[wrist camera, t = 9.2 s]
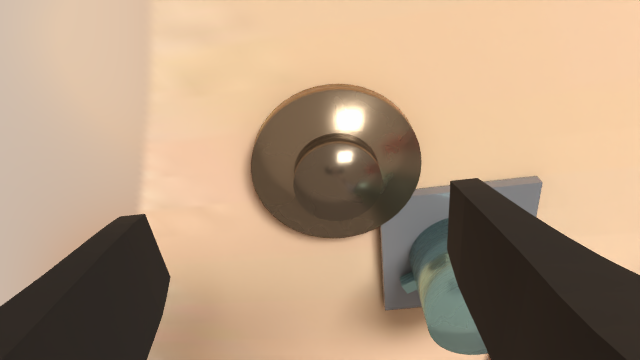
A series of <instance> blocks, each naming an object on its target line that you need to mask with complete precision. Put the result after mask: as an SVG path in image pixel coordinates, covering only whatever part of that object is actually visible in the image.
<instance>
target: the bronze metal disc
mask: <svg viewBox="0 0 640 360" xmlns="http://www.w3.org/2000/svg"><path fill="white" fill-rule="evenodd" d="M420 172H421V152H420V147H419V143H418V140H417V138H416V135H415V133H414V131H413V129H412V127H411V125H410V123H409V121H408V120H407V118H406V117H405V115H404V114H403V113H402V112H401V110H400V109H399V108H398V107H397V106H395V105H394V104H393V103H392V102H391V101H389V100H388V99H387V98H385V97H384V96H382V95H380V94H378V93H376V92H374V91H372V90H369V89H366V88H363V87H359V86H354V85H346V84H329V85H322V86H317V87H313V88H310V89H307V90H304V91H301V92H299V93H297V94H295V95H293V96H291V97H290V98H288V99H287V100H285V101H284V102H282V103H281V104H280V105H279V106H278V107H276V108H275V109H274V110H273V112H272V113H271V114H270V115H269V116H268V117H267V119H266V120H265V122H264V123H263V125H262V127H261V129H260V131H259V133H258V135H257V138H256V141H255V145H254V149H253V154H252V161H251V173H252V179H253V183H254V187H255V190H256V192H257V194H258V196H259V198H260V200H261V201H262V203H263V204H264V206H265V207H266V208H267V209H268V211H269V212H270V213H271V214H272V215H273V216H274V217H276V218H277V219H278V220H279V221H281V222H282V223H283V224H285V225H286V226H288V227H290V228H292V229H294V230H296V231H299V232H301V233H304V234H308V235H312V236H317V237H323V238H344V237H350V236H355V235H359V234H363V233H366V232H368V231H371V230H373V229H375V228H377V227H379V226H381V225H383V224H384V223H386V222H388V221H389V220H390V219H392V218H393V217H394V216H395V215H397V214H398V213H399V212H400V211H401V209H402V208H403V207H404V206H405V205H406V204H407V202H408V201H409V200H410V198H411V196H412V194H413V193H414V191H415V189H416V186H417V183H418V181H419V176H420Z"/></svg>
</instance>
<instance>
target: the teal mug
mask: <svg viewBox="0 0 640 360" xmlns="http://www.w3.org/2000/svg"><path fill="white" fill-rule="evenodd" d="M447 236H448V218H447V219H444V220H441V221H438V222H436V223H434V224H432V225H431V226H429V227H428V228H426V229H425V230H424V231H423V232H422V233H421V234H420V235H419V236H418V237H417V238H416V240H415V241H414V243H413V245H412V247H411V250H410V255H409V260H410V265H411V269H412V271H411V272H409V273H407V274H405V275H403V276H401V277H399V278H400V282H401V286H402V287H403V289H404V290H405V291H406V292H407V294H408V293H410V292H413V291H415V290H418V294H419V298H420V301H421V305H422V308H423V312H424V315H425V319H426V323H427V326H428V330H429V333H430V335H431V337H432V338H433V340H434V341H435V342H436V343H437V344H438V345H439V346H441V347H442V348H444V349H446V350H449V351H451V352H455V353H459V354H467V355H478V354H486V353H488V351H487V349H486V347H485V345H484V343H483V340H482V338H481V336H480V334H479V332H478V330H477V327H476V325H475V323H474V321H473V319H472V316H471V314H470V312H469V310H468V307H467V305H466V303H465V301H464V299H463V296H462V294H461V292H460V289H459V287H458V284H457V281H456V278H455V275H454V272H453V268H452V265H451V262H450V258H449V255H448V251H447Z"/></svg>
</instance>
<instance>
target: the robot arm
mask: <svg viewBox="0 0 640 360" xmlns="http://www.w3.org/2000/svg"><path fill="white" fill-rule="evenodd" d="M447 251H448V255H449V258H450V262H451V265H452V268H453V272H454V275H455V278H456V281H457V284H458V287H459V289H460V292H461V294H462V296H463V299H464V301H465V303H466V305H467V307H468V310H469V312H470V314H471V316H472V319H473V321H474V323H475V325H476V327H477V330H478V332H479V334H480V336H481V338H482V340H483V343H484V345H485V347H486V349H487V351H488V354H489V356H490V358H491V360H640V275H638V274H636V273H634V272H632V271H630V270H628V269H626V268H624V267H622V266H620V265H618V264H615V263H614V262H612V261H610V260H608V259H606V258H604V257H602V256H600V255H598V254H597V253H595V252H593V251H591V250H590V249H588V248H586V247H584V246H583V245H581V244H579V243H577V242H576V241H574V240H572V239H570V238H569V237H567V236H565V235H564V234H562V233H560V232H559V231H557V230H555V229H554V228H552V227H551V226H549V225H547V224H546V223H544V222H543V221H541V220H539V219H538V218H536V217H535V216H533V215H532V214H530V213H529V212H527V211H526V210H524V209H523V208H521V207H520V206H518V205H517V204H515V203H514V202H512V201H511V200H509V199H508V198H506V197H505V196H504V195H502V194H501V193H499V192H498V191H496V190H495V189H493V188H492V187H490V186H489V185H487V184H486V183H484V182H483V181H481V180H479V179H478V178H474V179H465V180H456V181H450V199H449V218H448V236H447ZM169 282H170V275H169V273H168V270H167V268H166V265H165V263H164V260H163V258H162V255H161V253H160V250H159V248H158V245H157V243H156V240H155V238H154V235H153V233H152V230H151V228H150V225H149V223H148V220H147V218H146V215H145V214H140V215H130V216H121V217H119V218H117V219H116V220H114V221H113V222H111V223H110V224H108V225H107V226H106V227H104V228H103V229H102V230H100V231H99V232H98V233H96V234H95V235H94V236H93V237H91V238H90V239H88V240H87V241H86V242H85V243H83V244H82V245H81V246H80V247H79V248H77V249H76V250H75V251H73V252H72V253H71V254H70V255H68V256H67V257H66V258H64V259H63V260H62V261H60V262H59V263H58V264H57V265H55V266H54V267H53V268H52V269H50V270H49V271H48V272H46V273H45V274H44V275H43V276H41V277H40V278H39V279H37V280H36V281H34V282H33V283H32V284H30V285H29V286H28V287H26V288H25V289H24V290H22V291H21V292H19V293H18V294H17V295H15V296H14V297H13V298H11V299H10V300H9V301H7V302H6V303H5V304H3V305H2V306H0V360H147V357H148V354H149V352H150V349H151V346H152V343H153V341H154V338H155V335H156V332H157V329H158V327H159V324H160V321H161V318H162V315H163V310H164V306H165V302H166V297H167V292H168V287H169Z"/></svg>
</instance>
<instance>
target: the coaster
mask: <svg viewBox="0 0 640 360" xmlns="http://www.w3.org/2000/svg"><path fill="white" fill-rule="evenodd" d="M484 183H486V184H487V185H489V186H490V187H492V188H493V189H495V190H496V191H498V192H499V193H501V194H502V195H504V196H505V197H506V198H508V199H509V200H511V201H512V202H514V203H515V204H517V205H518V206H520V207H521V208H523V209H524V210H526V211H527V212H529V213H530V214H532V215H533V216H535V217H536V215H537V209H538V204H539V199H540V193H541V188H542V181H541V180H540V179H539V178H538V177H537V176H533V177H523V178H514V179H505V180H495V181H486V182H484ZM449 199H450V185H449V186H440V187H430V188H421V189H415V191H414V193H413V194H412V196H411V198H410V200H409V201H408V202H407V204H406V205H405V206H404V207H403V208H402V209H401V211H400V212H399V213H398V214H397V215H395V216H394V217H393V218H392V219H390V220H389V221H388V222H386V223H384V224H383V225H381V226H380V239H381V258H382V278H383V298H384V306H385V310H394V309H405V308H415V307H422V305H421V301H420V298H419V294H418V290H415V291H413V292H410V293H408V294H407V292H406V291H405V290H404V289H403V287H402V286H401V282H400V278H399V277H401V276H403V275H405V274H407V273H409V272H411V271H412V269H411V265H410V260H409V255H410V250H411V247H412V245H413V243H414V241H415V240H416V238H417V237H418V236H419V235H420V234H421V233H422V232H423V231H424V230H425V229H426V228H428V227H429V226H431V225H432V224H434V223H436V222H438V221H441V220H444V219H447V218H449Z"/></svg>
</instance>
